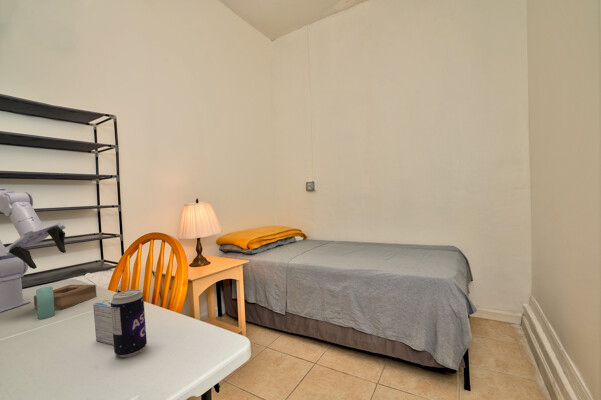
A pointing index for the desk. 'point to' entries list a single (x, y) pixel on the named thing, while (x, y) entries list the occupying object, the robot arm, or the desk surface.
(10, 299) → the robot arm
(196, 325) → the desk surface
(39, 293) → the teal peg
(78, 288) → the walnut socket block
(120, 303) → the beverage can
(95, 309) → the medicine box
